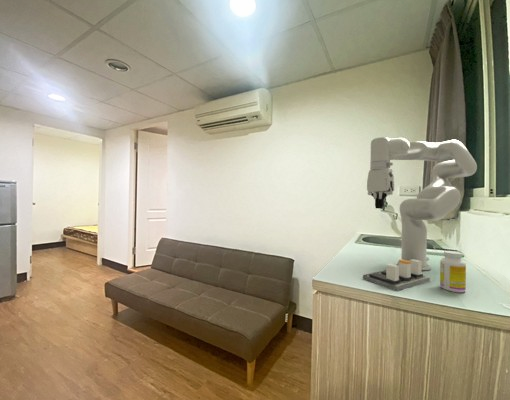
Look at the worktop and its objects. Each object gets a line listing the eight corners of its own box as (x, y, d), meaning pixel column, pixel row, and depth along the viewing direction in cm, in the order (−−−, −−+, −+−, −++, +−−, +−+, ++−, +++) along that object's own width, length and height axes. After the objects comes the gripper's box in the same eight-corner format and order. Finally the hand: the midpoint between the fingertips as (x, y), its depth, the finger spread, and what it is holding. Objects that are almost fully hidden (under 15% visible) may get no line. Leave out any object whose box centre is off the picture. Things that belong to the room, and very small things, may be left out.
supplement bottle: (470, 292, 76) (471, 254, 76) (456, 294, 74) (457, 255, 74) (448, 284, 82) (449, 249, 82) (435, 286, 80) (435, 250, 80)
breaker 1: (390, 277, 82) (390, 263, 82) (398, 280, 79) (399, 265, 79) (386, 278, 81) (386, 264, 81) (394, 281, 78) (395, 266, 78)
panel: (394, 271, 97) (395, 266, 97) (429, 281, 85) (429, 275, 85) (362, 278, 87) (363, 272, 87) (397, 291, 76) (397, 284, 76)
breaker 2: (412, 271, 89) (413, 259, 89) (421, 274, 86) (421, 261, 86) (409, 272, 88) (409, 259, 88) (418, 275, 85) (418, 261, 85)
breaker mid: (402, 274, 85) (402, 259, 85) (411, 277, 83) (411, 261, 83) (398, 275, 84) (398, 260, 84) (407, 278, 82) (407, 262, 82)
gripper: (402, 165, 94) (402, 209, 94) (369, 169, 107) (369, 207, 107) (392, 163, 90) (391, 209, 90) (359, 168, 104) (358, 207, 104)
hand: (379, 208), depth 99 cm, fingers closed
